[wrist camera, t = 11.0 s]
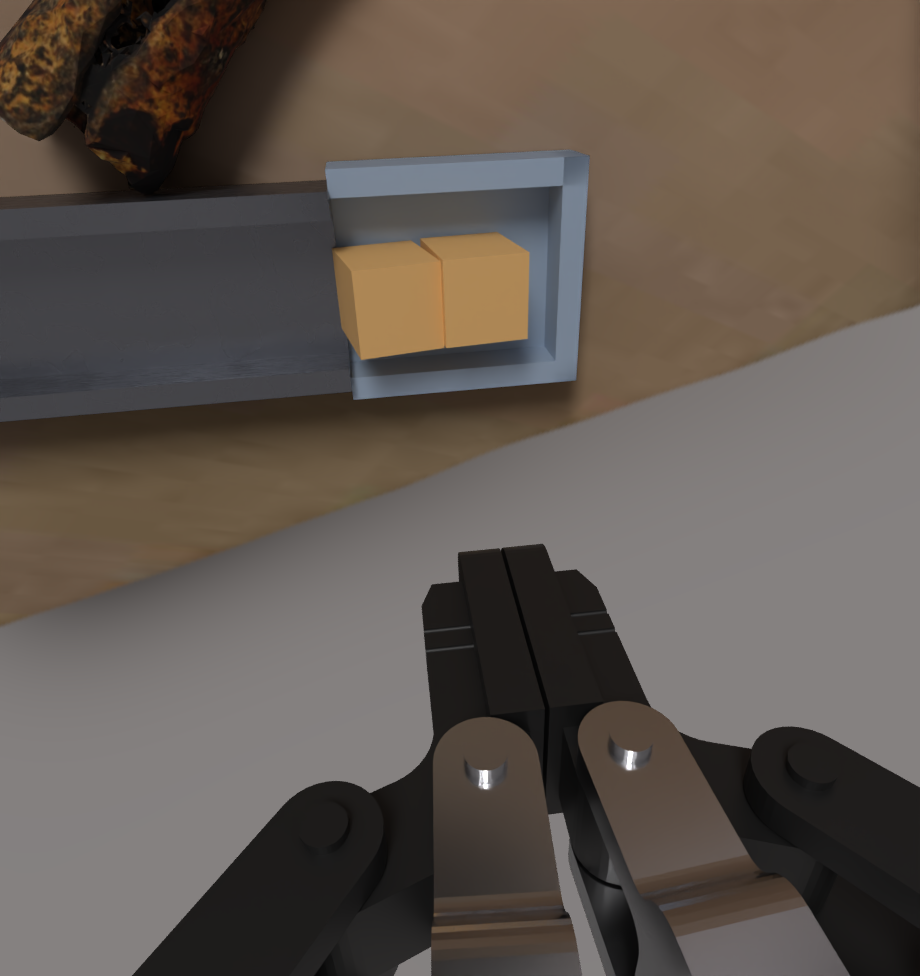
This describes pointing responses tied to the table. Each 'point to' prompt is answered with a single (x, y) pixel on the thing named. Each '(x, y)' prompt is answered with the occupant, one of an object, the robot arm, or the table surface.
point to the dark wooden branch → (121, 74)
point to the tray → (470, 210)
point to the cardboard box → (481, 288)
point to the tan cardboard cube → (389, 298)
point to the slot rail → (168, 299)
